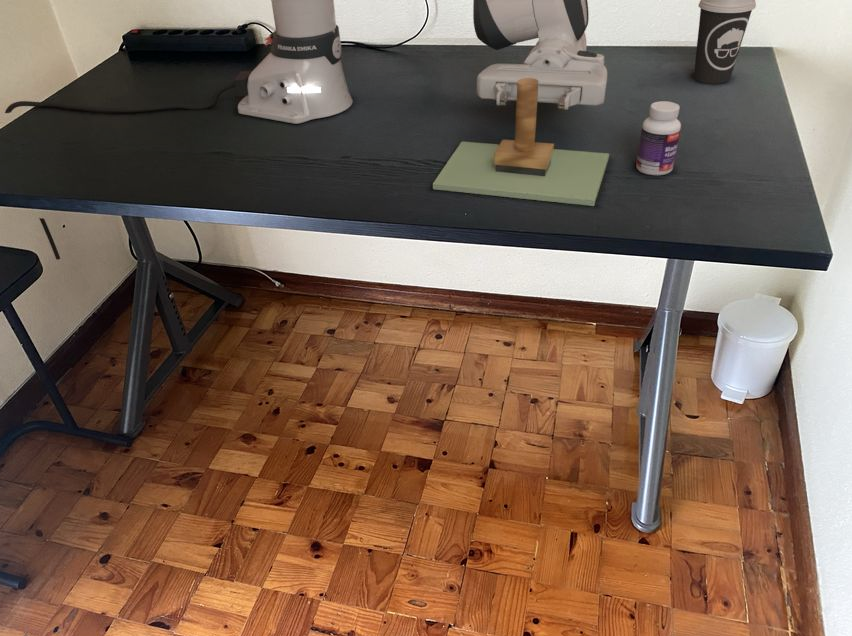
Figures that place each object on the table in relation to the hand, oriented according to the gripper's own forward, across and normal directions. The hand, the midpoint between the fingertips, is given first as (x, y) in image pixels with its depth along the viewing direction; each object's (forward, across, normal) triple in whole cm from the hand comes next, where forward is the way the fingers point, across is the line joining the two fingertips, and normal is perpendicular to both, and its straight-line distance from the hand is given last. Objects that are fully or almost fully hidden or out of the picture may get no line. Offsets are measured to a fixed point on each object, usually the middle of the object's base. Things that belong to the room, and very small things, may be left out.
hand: (531, 102), depth 110 cm
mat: (+5, 0, +10) cm, 11 cm away
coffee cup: (-43, +26, +10) cm, 51 cm away
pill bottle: (-1, +19, +10) cm, 21 cm away
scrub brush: (+4, 0, +8) cm, 10 cm away
